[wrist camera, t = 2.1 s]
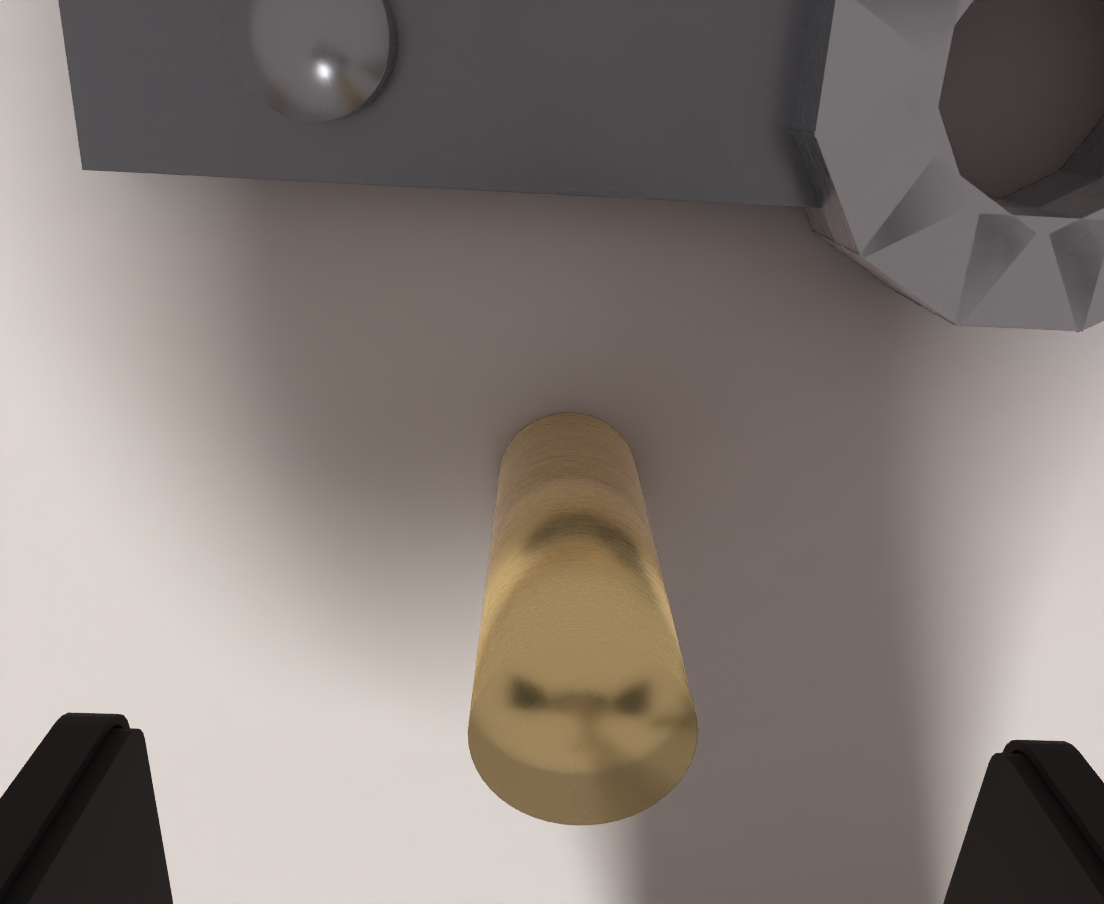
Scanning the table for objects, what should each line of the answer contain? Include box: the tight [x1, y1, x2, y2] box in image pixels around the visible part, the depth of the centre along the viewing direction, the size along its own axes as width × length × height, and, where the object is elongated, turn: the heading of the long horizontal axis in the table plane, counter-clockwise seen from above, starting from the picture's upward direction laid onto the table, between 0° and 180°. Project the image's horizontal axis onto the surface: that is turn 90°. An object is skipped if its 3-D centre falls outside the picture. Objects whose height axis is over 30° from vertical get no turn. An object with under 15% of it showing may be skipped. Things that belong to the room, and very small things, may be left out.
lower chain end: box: [59, 0, 1104, 306], centre depth 16 cm, size 22×9×2 cm, turn 87°
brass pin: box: [468, 413, 698, 825], centre depth 17 cm, size 3×3×9 cm
